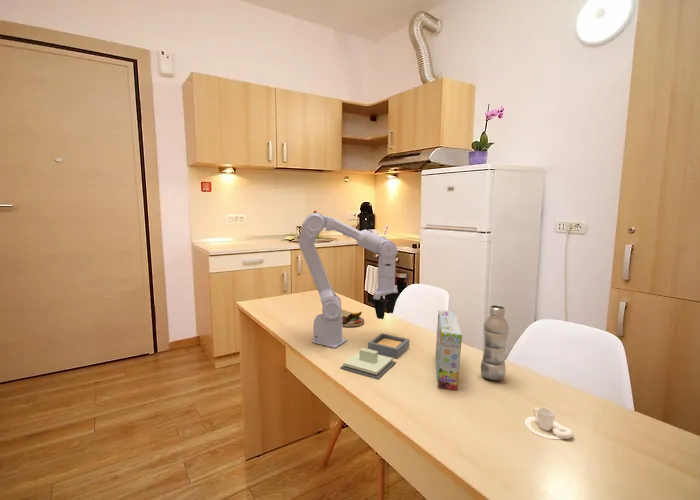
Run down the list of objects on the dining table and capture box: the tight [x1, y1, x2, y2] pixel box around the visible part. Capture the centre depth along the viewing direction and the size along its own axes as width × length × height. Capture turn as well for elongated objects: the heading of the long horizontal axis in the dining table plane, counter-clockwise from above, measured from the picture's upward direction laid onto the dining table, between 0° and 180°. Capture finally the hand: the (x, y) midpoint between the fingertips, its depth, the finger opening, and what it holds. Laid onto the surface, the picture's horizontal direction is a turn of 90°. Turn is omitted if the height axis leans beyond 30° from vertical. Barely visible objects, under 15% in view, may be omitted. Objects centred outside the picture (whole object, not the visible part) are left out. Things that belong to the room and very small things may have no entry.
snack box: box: [435, 309, 463, 391], centre depth 101 cm, size 21×6×15 cm, turn 168°
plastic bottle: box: [480, 304, 510, 382], centre depth 97 cm, size 6×7×20 cm
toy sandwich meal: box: [341, 309, 365, 328], centre depth 142 cm, size 12×14×5 cm
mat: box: [340, 360, 397, 380], centre depth 104 cm, size 12×12×1 cm
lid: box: [342, 347, 394, 375], centre depth 104 cm, size 11×11×4 cm
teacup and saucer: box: [524, 407, 574, 441], centre depth 76 cm, size 9×8×4 cm
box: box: [367, 333, 410, 360], centre depth 116 cm, size 10×10×3 cm
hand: (385, 315), depth 121 cm, fingers open, 7 cm apart
